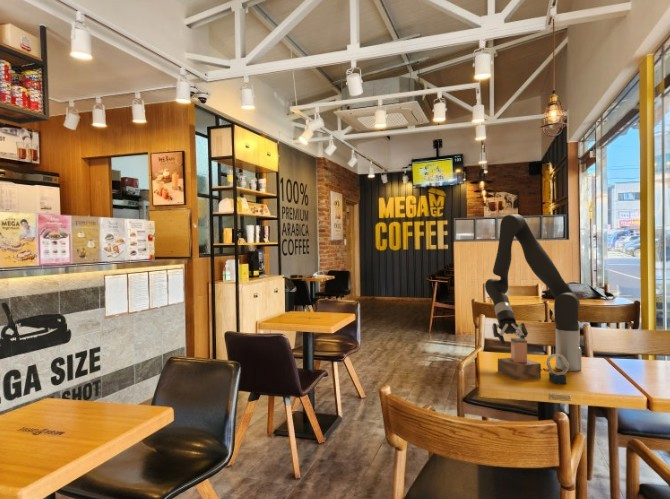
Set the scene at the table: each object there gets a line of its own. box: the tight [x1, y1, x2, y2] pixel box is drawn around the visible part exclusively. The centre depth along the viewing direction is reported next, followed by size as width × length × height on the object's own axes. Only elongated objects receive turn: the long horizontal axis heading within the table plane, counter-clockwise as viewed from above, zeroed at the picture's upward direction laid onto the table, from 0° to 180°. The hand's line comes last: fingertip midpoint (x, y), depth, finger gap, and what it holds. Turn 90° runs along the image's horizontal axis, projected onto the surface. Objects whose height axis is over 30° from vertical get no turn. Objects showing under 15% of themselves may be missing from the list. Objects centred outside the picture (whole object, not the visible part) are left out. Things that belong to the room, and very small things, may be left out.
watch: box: [546, 353, 569, 385], centre depth 180 cm, size 6×8×11 cm
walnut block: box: [497, 357, 542, 381], centre depth 191 cm, size 12×12×6 cm
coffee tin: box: [510, 337, 528, 362], centre depth 191 cm, size 5×5×9 cm
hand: (513, 344), depth 197 cm, fingers open, 8 cm apart
